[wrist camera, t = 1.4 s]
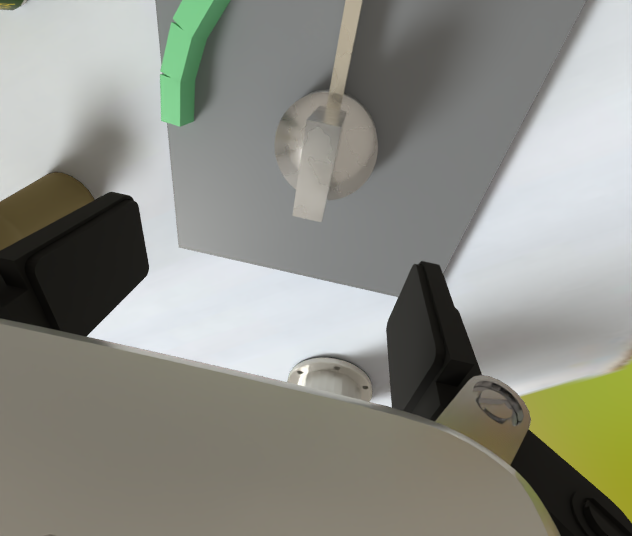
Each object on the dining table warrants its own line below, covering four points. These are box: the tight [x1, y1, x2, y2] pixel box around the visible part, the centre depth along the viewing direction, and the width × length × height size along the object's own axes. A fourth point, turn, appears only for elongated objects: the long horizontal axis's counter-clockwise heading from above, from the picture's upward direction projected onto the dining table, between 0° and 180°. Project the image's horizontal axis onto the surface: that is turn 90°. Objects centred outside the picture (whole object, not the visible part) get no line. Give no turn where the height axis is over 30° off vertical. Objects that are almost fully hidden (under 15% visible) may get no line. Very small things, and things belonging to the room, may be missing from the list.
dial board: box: [155, 0, 587, 297], centre depth 25 cm, size 28×28×4 cm
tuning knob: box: [275, 0, 378, 222], centre depth 20 cm, size 14×8×8 cm, turn 170°
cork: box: [0, 172, 94, 250], centre depth 30 cm, size 6×6×11 cm
